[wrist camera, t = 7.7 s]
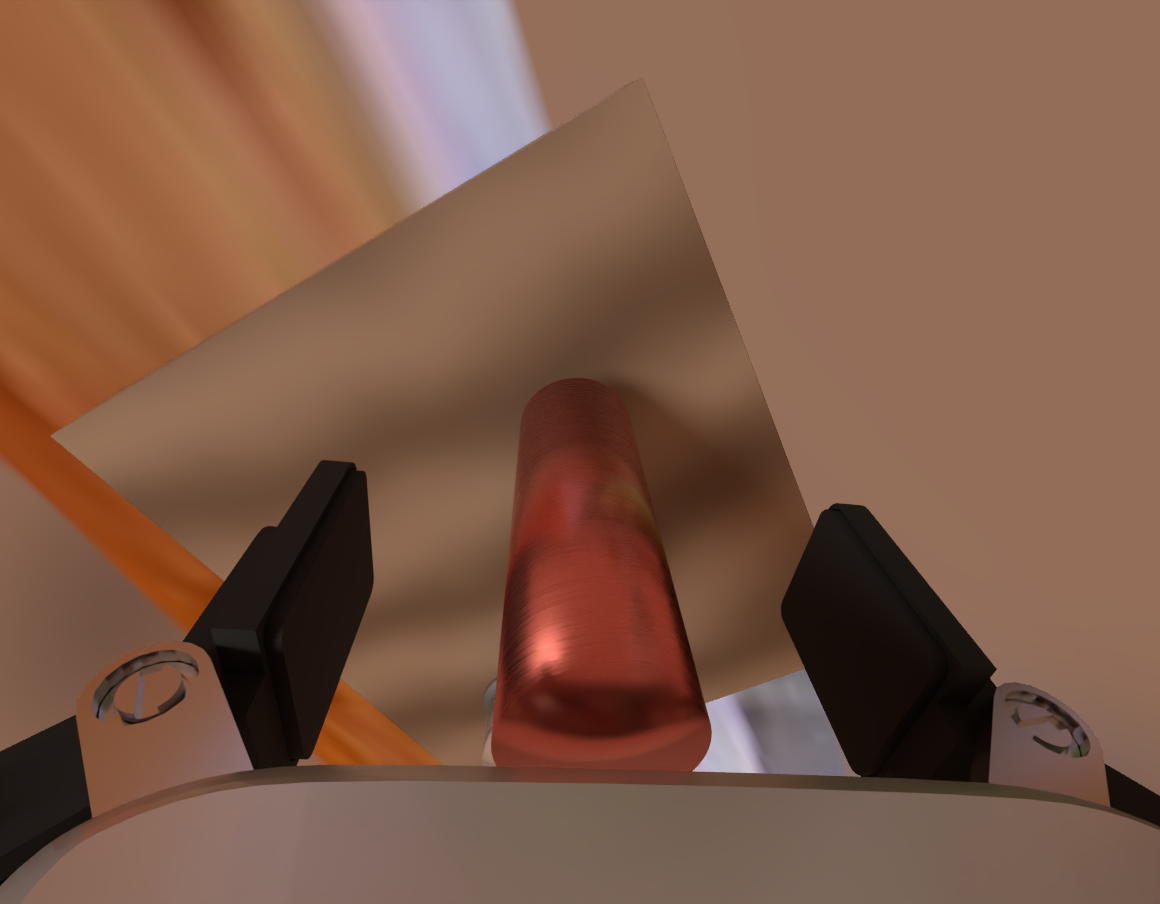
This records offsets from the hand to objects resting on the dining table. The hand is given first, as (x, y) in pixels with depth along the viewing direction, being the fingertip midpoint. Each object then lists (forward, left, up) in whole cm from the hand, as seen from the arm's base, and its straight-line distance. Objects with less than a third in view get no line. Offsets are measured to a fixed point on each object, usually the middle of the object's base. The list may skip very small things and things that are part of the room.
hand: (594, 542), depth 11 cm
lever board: (+4, -4, -8) cm, 10 cm away
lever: (+6, -4, -6) cm, 9 cm away
